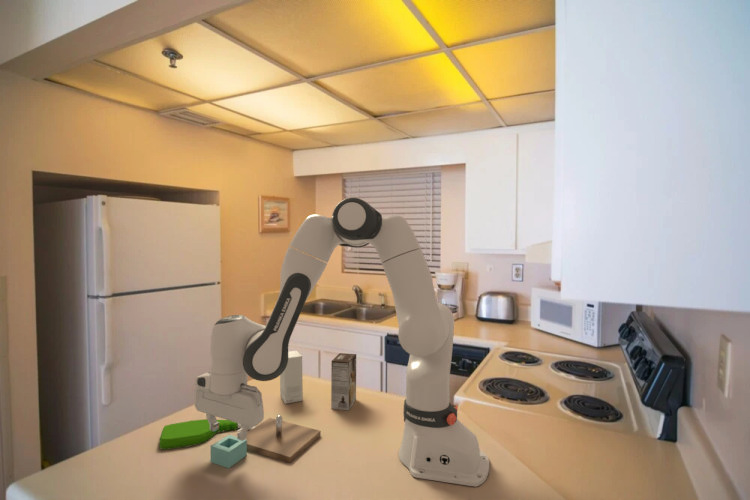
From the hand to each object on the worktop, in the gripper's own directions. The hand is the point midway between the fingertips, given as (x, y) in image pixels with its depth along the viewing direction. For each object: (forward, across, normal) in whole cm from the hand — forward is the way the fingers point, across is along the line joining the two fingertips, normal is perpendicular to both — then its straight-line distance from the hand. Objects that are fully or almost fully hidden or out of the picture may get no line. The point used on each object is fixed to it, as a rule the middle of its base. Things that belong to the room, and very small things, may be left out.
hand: (227, 434), depth 93 cm
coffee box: (+6, -11, -40) cm, 42 cm away
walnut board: (+6, -7, -12) cm, 15 cm away
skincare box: (+6, +8, -36) cm, 37 cm away
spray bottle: (+7, +14, -7) cm, 16 cm away
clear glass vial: (+5, -7, -12) cm, 14 cm away
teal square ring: (+6, -1, 0) cm, 6 cm away
